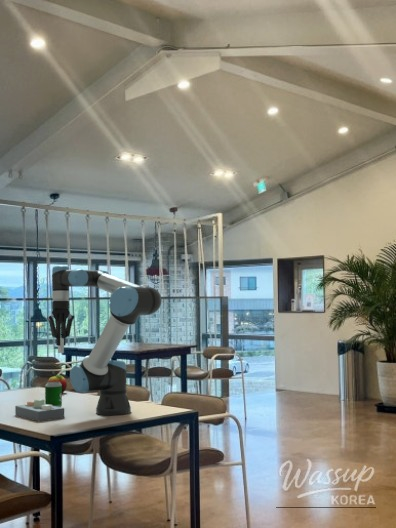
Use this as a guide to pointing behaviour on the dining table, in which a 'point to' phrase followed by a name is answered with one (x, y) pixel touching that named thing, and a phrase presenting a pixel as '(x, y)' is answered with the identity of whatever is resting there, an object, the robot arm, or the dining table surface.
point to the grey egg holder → (39, 413)
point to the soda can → (53, 394)
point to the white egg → (46, 407)
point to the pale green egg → (39, 403)
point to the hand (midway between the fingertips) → (60, 352)
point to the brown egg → (30, 403)
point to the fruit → (59, 379)
